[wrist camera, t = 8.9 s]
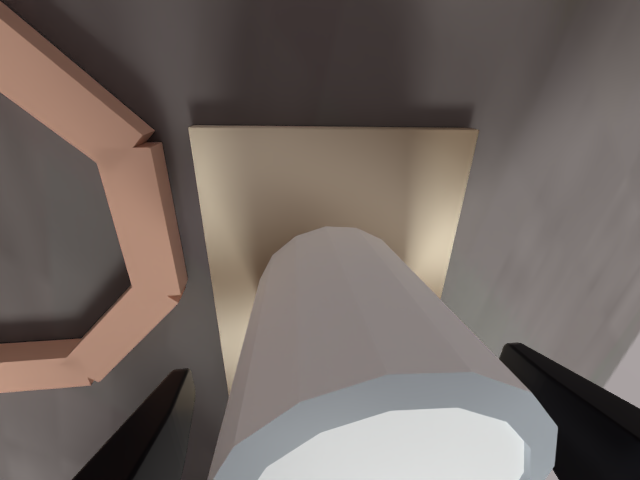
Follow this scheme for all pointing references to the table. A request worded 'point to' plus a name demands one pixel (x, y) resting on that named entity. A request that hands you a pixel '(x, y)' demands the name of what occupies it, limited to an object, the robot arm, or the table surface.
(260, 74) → the table surface
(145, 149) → the ring coaster
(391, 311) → the white cylinder
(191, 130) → the beige flat pad
